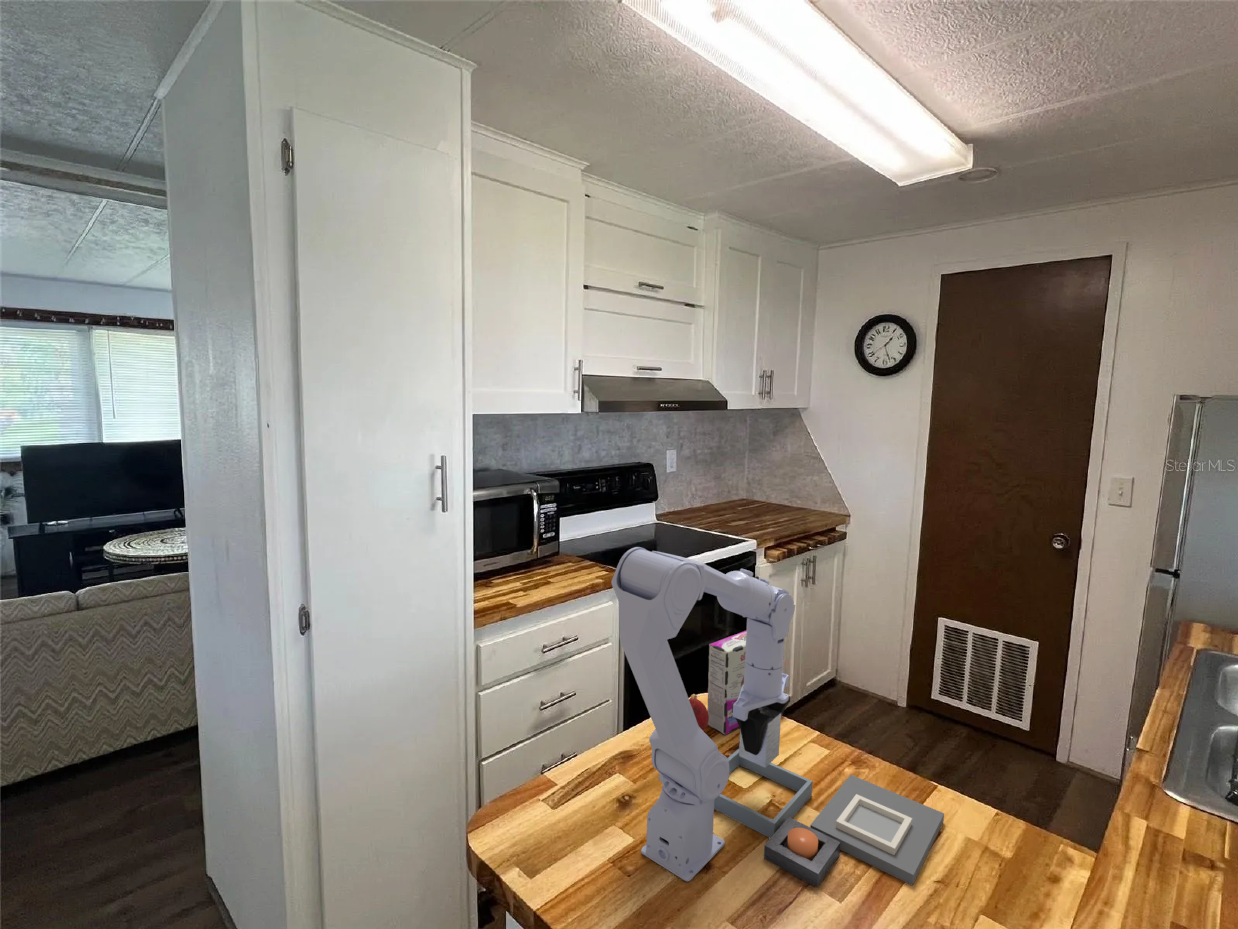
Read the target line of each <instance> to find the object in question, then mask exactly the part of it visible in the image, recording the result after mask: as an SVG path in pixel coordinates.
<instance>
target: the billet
mask: <svg viewBox="0 0 1238 929" xmlns="http://www.w3.org/2000/svg"><path fill="white" fill-rule="evenodd" d="M759 710H761V713H763V714H765V715H768V716H770V717H771V718H770V719H769V721H768V722H767V724H766V727H765V729H764V733H763V737H762V743H761V748H760V751H759V753H758V754H757V755H754V754H751V753H749V752H747V751H745V749H744V745H743V740H742V735H741V731H740V730H739V747H738V749H739V756H740V757H742V758H745V759H747V760H749V761H751V762H754V763H756V764H758V765H760V766H763V767H765V768H766V767H767V766H768V765H769V764H770V763H773V761H774V760H775V759H776V758H777V757H778V756H779V755H780V741H781V740H780V739H781V722H782V717H781V712H778V711H776V710H773V709H770V708H768V707H765V706H763V707H760V708H759Z"/></svg>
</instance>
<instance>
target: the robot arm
mask: <svg viewBox="0 0 1238 929" xmlns="http://www.w3.org/2000/svg"><path fill="white" fill-rule="evenodd" d="M753 576H754V572H752V571H750V570H747V569H744V568H740V569H739V570H733V571H732V570H731V571H729V572H727V573H726V574H725V573H723V572H721V571H719V570H717V569H715V568H713V567H711V566H710V565H707V564H706V563H703V562H700V561H697V560H694V559H690V558H688V557H683V556H679V555H676V554H671V553H666V552H663V551H662V552H661V551H658V550H657V551H656V550H652V551H650V550H648V549H646V548H644V547H640V546H635V547H632V548H630V549H628V550H627V551H626V552H624V553H623V555H622V556H621V557H620V559H619V562H618V563H617V566H616V569H615V572H614V574H613V576H612V579H611V582H610V583H611V585H612V589H613V591H614V593H615V596H616V598H617V600H618V633H619V634H618V636H619V641H620V645H621V647H622V650H623V652H624V654H625V657H626V659H627V663H628V664H629V667H630V669H631V671H632V674H633V677H634V679H635V682H636V684H637V686H638V689H639V691H640V694H641V696H642V699H643V701H644V704H645V707H646V708H647V711H648V714H649V716H650V719H651V721H652V723H653V726H654V730H653V731H652V733H651V735H650V736H649V739H648V742H649V743H650V747H651V764H652V767H653V768H654V769H655V770H656V771H657V772H658V773H659V774H658V780H659V782H661V784H662V787H661V790H660V795H659V796H658V798H657V800H656V801H655V803H654V804H653V805H652V806H651V808H649V811H648V813H647V816H646V817H647V818H646V819H647V820H646V841H645V842H646V844H645V845H644V846H643V847H642V848H641V850H640V853H641V854H642V855H643V856H645V857H647V858H648V859H650V860H652V861H653V862H655V863H656V864H658V865H659V866H661V867H662V868H664V869H665V870H667V871H669V872H670V873H672V874H673V875H675V876H677V877H678V878H680V879H681V880H683V881H685V882H691V880H692V879H693V878H694V877H695V876H696V875H697V874H698V873H699V872H700V871H701V870H702V869H703V868H704V867H705V866H706V865H707V864H708V862H709V861H710V860H712V859H713V858H714V857H715V855H716V854H717V853H718V852H719V851H720V850H721V849H722V848H723V847H724V846H725V843H726V842H725V840H724V839H723V838H721V837H719V836H718V835H716V834H714V818H715V817H714V816H715V809H714V801H715V798H717V797H718V796H719V795H720V794H722V793H723V792H724V790H725V788H726V787H727V784H728V782H729V777H730V774H729V762H728V759H727V758H728V756H726V755H725V754H723V753H722V752H720V750H719V749H718V748H719V747H718V745H717V744H716V743H715V741H713V740H712V739H711V738H710V736H708V735H707V733H706V732H704V731H702V729H701V728H700V727H699V726H698V723H697V720H696V718H695V715H694V712H693V709H692V707H691V704H690V701H689V699H690V698H689V696H688V693H687V691H686V688H685V685H684V682H683V680H682V679H683V678H682V677H681V674H680V671H679V667H678V666H677V663H676V661H675V657H674V655H673V652H672V649H671V647H670V644H669V641H668V640H669V639H670V640H671V639H673V638H676V637H677V636H678V633H679V632H680V629H681V628H682V627H683V625H684V623H685V621H686V620H687V618H688V616H689V614H690V612H691V611H692V610H693V608H694V606H695V604H696V603H697V601H701V600H702V599H703V595H704V593H707V594H710V595H713V596H715V597H716V599H717V601H718V603H719V605H720V606H721V607H722V608H723V610H726V611H729V612H730V613H731V612H732V613H735V614H737V615H739V616H742V618H746V631H747V632H746V651H745V670H744V684H743V686H742V688H741V691H740V694H739V697H738V699H737V701H736V702H735V703H734V704H733V706H732V713H733V717H735V718H736V720H737V723H738V725H739V728H738V729H739V732H740V731H741V735H742V740H743V745H744V749H745V751H747V752H749V753H751V754H754V755H757V754H758V753H759V751H760V748H761V743H762V737H763V733H764V729H765V727H766V724H767V722H768V721H769V719H770V718H771V717H770V716H768V715H765V714H763V713H761V710H759V708H760V707H763V706H765V707H768V708H770V709H773V710H776V711H778V712H781V718H782V716H783V714H784V712H785V710H786V708H787V706H788V705H789V704H790V702H791V696H790V695H789V694H787V693H784V692H785V689H786V688H788V687H789V683H790V682H789V680H790V675H789V674H788V673H784V672H783V671H784V658H785V642H786V641H785V640H786V637H788V635H789V633H790V625H791V622H792V619H793V617H794V614H795V610H796V609H795V608H796V604H794V603H795V602H794V598H793V597H792V595H790V593H789V591H788V590H786V589H784V588H781V587H777V586H773V585H770V581H769V580H768V579H765V578H762V577H760V578H756V577H753Z"/></svg>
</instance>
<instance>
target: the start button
mask: <svg viewBox="0 0 1238 929" xmlns="http://www.w3.org/2000/svg"><path fill="white" fill-rule="evenodd" d="M787 849H789V850H791V851H793V852H795V853H797V854H798V855H800V856H802V857H804V858H806V859H808V860H810V861H812V860H813V859H814V858H815V856H816V855H817V854H818V838H817V836H816V835H815V834H814V833H813V832H811V831H810V830H807V829H804V828H793V829H791V830H790V831H789V832H788V840H787Z"/></svg>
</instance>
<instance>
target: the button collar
mask: <svg viewBox="0 0 1238 929" xmlns="http://www.w3.org/2000/svg"><path fill="white" fill-rule="evenodd" d="M793 828H804V829H807V830H810V831H811V832H813V833H814V834H815V835H816V836H817V838H818V852H817V855H816V856H815V858H814V859H813V860H812V861H810V860H808V859H806V858H804V857H802V856H800V855H798V854H797V853H795V852H793V851H791V850H789V849H787V840H788V832H789V831H790V830H791V829H793ZM763 846H764V847H763V859H764V860H765V861H767V862H770V863H771V864H772V865H775V866H776V867H778V868H780V869H781V870H784V871H785V872H787V873H789V874H791V875H793V876H794V877H796V878H798V879H800V880H802V881H804V882H806V883H807V884H809V885H811V886H813V887H814V888H819V886H820V885H821V883H822V881H823V880H824V879H825V877H826V876H827V874H828V873H829V872H830V870H831V868H832V867H833V866H834V864H835V862H837V860H838V858H839V857H840V853H841V852H840V851H841V850H840V842H839V841H837V840H835V839H833V838H831V837H829V836H827V835H825V834H823V833H821V832H818V831H816V830H814V829H812V828H810V826H808V825H806V824H804V823H802V822H800V821H798V820H795V819H794V818H790V817H788V818H787V820H786V821H785V822H784V823H783V824H782V825H781V827H780V828H779V829H778V830H777V831H776V832H775V833H774V835H773V836H772V837H771V838H769V839H768V840H767V842H765V844H764V845H763Z"/></svg>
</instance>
